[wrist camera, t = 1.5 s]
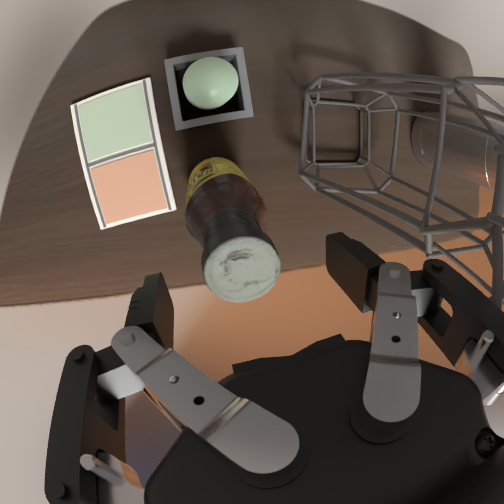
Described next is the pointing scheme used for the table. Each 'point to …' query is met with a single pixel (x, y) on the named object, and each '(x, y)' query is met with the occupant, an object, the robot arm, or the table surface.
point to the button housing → (242, 90)
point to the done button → (210, 82)
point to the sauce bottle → (230, 231)
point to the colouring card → (123, 154)
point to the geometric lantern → (491, 223)
